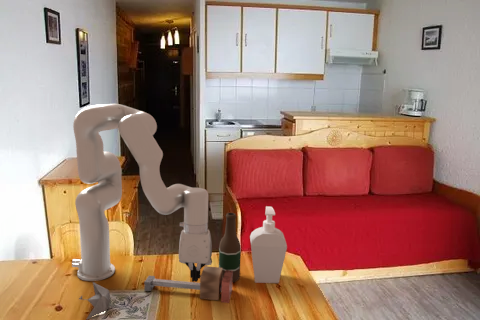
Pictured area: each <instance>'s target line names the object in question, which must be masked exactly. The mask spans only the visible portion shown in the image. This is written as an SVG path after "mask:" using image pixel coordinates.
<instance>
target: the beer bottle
mask: <svg viewBox="0 0 480 320" xmlns="http://www.w3.org/2000/svg"><path fill="white" fill-rule="evenodd" d="M225 218H226V220H225V230H224V235H223V237H221V239H220V241H219V247H218V267H219V268H222V280H223V277H224V274H225V271H226V270H230V271H233V279H232V283H235V282H237V281H238V280H239V279H240V278H241V277H240V275H241V259H242V258H241V257H242V254H241V253H242V250H241V249H242V247H241V246H242V245H241V242H240V240H239V238H238V236H237V232H236V231H237V228H236V227H237V226H236V218H237V215H236V213H234V212H227V213H226V215H225Z"/></svg>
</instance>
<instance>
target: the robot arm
mask: <svg viewBox="0 0 480 320" xmlns="http://www.w3.org/2000/svg"><path fill="white" fill-rule="evenodd" d="M72 123H73V125H72V126H73V134H74V138H75V145H76V147H75V148H76V150H75V151H76V164H77V165H76V166H77V174H78V178H79V180H80V181H81V182H82V183H84V184H87V185H91V184H92V186H89V187H86V188H84V189H83V190H81V191H80V192H79V193H78V194H77V195H76V197H75V202H74V204H75V205H74V206H75V209H76V213H77V217H78V223H79V235H80V237H79V238H80V254H81V255H80V257H81V258H80V259H79V258H73V259H72V261H71V267H72V268H77V269H78V270H77V278H78V279H80V280H82V281H85V282H95V281H96V282H97V281H102V280H105V279H107V278H110V277H111V276H113V275H114V273H115V271H116V267H115V265H114V264H112V263H111V250H110V249H111V248H110V247H111V246H110V245H111V244H110V243H111V242H110V226H109V220H108V218H107V216H106V214H105V213H106V212H105V211H107V210H109V209H111V208H113V207H115V206H116V205H117V204H119V202H121V199H122V197H123V195H122V194H123V186H122V184H123V183H122V167H121V166H122V165H121V162H120V160H119V158H118V157H117V155H116V154H115V153H113V152H111V151H104V142H103V139H102V136H101V134H100V132H104V131H110V130H111V131H112V130H116V129H118V132H119V135H120V136H121V138H122V140H123V142H124V143H125V145H126V146H127V148H128V150H129V151H130V153H131V155H132V157H133V158H134V159H135V161H136V162H137V165H138V167H139V177H140V184H141V187H142V191H143V193H144V195H145V197H146V198H147V200H148V202H149V204H150V205H151V206H152V208H154V211H156V212H157V213H159V215H163V216H164V215H165V216H166V215H171V214H172V213H174V212H176V211H178V210H179V209H181V208H183V221H182V222H179V227H182V230H181V231H180V235H179V243H178V244H179V247H178V248H179V249H178V261H179V263H181V264H184V265H186V266H187V267H188V268H189V271H190V272H189V273H190V275H189V277H190V279H191V282H195V283H198V281H199V279H200V276H201V269H203V268H204V267H205V266H210V265H212V264H213V259H212V254H213V249H212V248H213V247H212V246H213V245H212V236H211V231H210V229H209V228H208V227H209V192H208V190H207V189H205V188H202V187H191V186H188V185H186V184H182V183H175V184H172V185H170V186H169V187H167V186H166V185H165V183H164V181H163V180H162V177H161V172H160V171H161V170H160V165H161V162H162V159H163V156H164V153H163V150H162V149H161V147H160V146H159V144H158V142H157V140H156V139H155V138H154V135H155V133H156V132H157V129H158V125H157V122H156V119H155V118H154V117H153V116H152V115H151V114H150V113H147V112H145V111H143V110H139V109H136V108H134V107H130V106H127V105H125V104H119V103H107V104H104V103H103V104H95V105H89V106H86V107H84V108H82V109H81V110H79V111H78V112H77V114H76V115H75V117H74V120H73V122H72ZM93 184H94V185H93ZM195 264H196V265H195Z"/></svg>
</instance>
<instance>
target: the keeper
mask: <svg viewBox="0 0 480 320" xmlns="http://www.w3.org/2000/svg"><path fill="white" fill-rule="evenodd" d="M199 281H200V282H199V283H200V290H199V299H201V300H202V299H203V300H214V301H219V299H220V296H221V294H222V292H220V285H222V268H219V266H209V265H205V266H204V267H203V268H202V271H201V273H200V280H199Z"/></svg>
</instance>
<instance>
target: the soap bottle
mask: <svg viewBox="0 0 480 320" xmlns="http://www.w3.org/2000/svg"><path fill="white" fill-rule="evenodd" d="M264 215H265V216H266V219H264V220H263V221H262V226H261V227H260V226H259V227H258V228H255V229H254V230H253V231H251V233H250V235H249V239H250V248H251V258H252V267H253V277H254V283H256V284H257V283H259V284H262V283H263V284H279V283H280V279H281V274H282V272H283V271H282V270H283V266H284V263H285V258H286V254H287V249H288V245H287V241H286V238H285V235H284V232H283V231H282V230H280V229H279V228H277V227H276V222H275V220H273V216H276V212H275V209H274V208H273V206H267V205H266V206H265V213H264Z"/></svg>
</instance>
